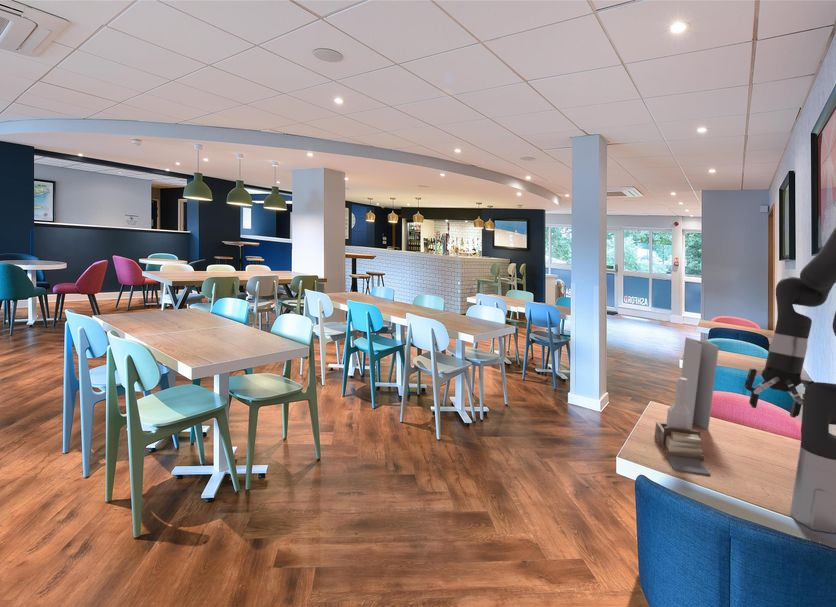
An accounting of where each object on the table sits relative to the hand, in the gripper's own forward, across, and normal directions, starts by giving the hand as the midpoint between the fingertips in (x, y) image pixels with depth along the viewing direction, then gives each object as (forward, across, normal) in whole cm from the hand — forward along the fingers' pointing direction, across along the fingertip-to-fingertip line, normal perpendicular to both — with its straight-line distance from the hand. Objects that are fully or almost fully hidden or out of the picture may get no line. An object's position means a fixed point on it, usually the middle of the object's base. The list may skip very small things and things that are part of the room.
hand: (772, 412), depth 121 cm
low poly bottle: (+20, -18, +18) cm, 32 cm away
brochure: (+16, -12, +44) cm, 48 cm away
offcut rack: (+20, -18, +15) cm, 31 cm away
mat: (+22, -16, +3) cm, 27 cm away
